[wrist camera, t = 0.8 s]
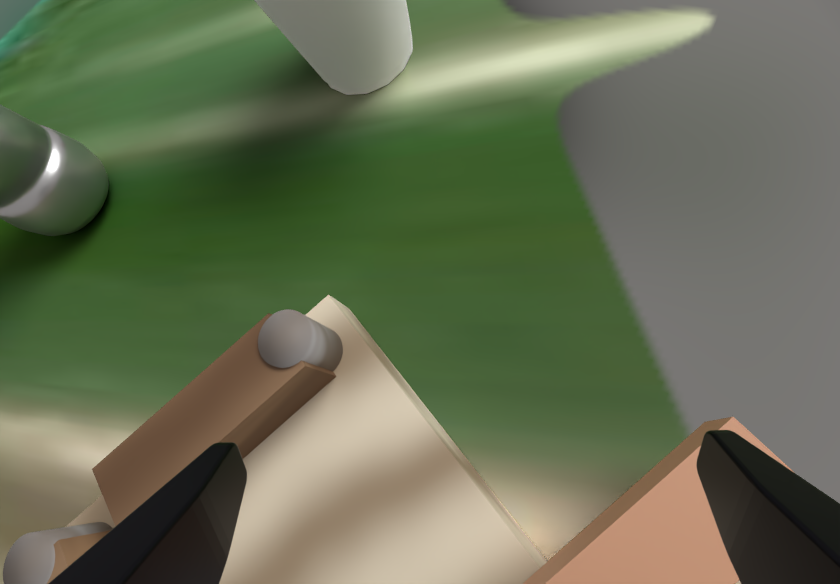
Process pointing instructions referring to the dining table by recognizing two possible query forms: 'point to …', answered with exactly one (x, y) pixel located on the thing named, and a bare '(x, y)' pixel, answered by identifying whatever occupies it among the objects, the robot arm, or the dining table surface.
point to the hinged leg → (654, 528)
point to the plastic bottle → (47, 178)
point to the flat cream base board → (310, 470)
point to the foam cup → (347, 39)
